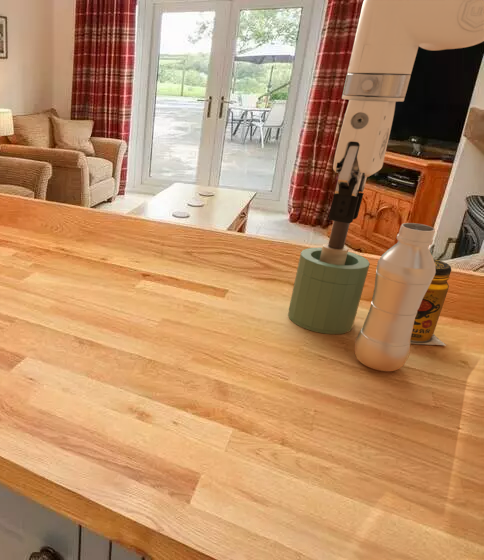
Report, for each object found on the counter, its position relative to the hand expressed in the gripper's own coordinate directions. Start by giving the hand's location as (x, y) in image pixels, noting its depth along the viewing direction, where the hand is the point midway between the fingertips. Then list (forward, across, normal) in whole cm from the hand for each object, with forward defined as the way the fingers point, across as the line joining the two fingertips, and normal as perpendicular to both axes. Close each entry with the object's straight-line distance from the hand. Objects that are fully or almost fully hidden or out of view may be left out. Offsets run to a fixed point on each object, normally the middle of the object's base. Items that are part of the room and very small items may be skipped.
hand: (342, 218), depth 74 cm
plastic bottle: (+17, -9, -10) cm, 22 cm away
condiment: (+17, +5, -12) cm, 22 cm away
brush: (+10, 0, 0) cm, 10 cm away
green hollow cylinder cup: (+17, 0, 0) cm, 17 cm away
